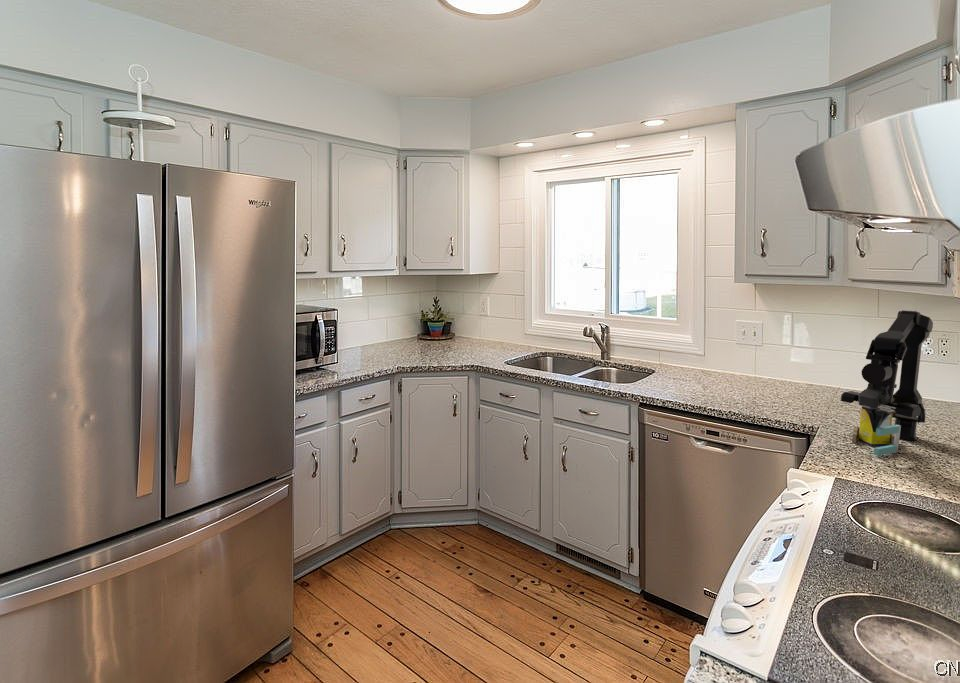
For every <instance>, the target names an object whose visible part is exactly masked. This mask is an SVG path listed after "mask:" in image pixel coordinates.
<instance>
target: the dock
mask: <svg viewBox="0 0 960 683" xmlns="http://www.w3.org/2000/svg"><path fill="white" fill-rule="evenodd" d="M859 429H860V427H857V426H854V427H853V431H852V438H851V443H852V444H856V443H857V439H859ZM894 437H895V433H894V434H890V443H889V444H890V445H894ZM856 445H857V444H856Z"/></svg>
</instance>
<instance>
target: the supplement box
mask: <svg viewBox="0 0 960 683" xmlns="http://www.w3.org/2000/svg"><path fill="white" fill-rule="evenodd" d="M892 415H893V413H892V414H890V415H889V416H888V417H887V418H886V419H885V420H884V421H883V423H882V424H881V425H880V427H886V426H892V422H893V417H892ZM880 427H879V428H880ZM859 428H860V429H859V438H857V439H858V440H857V441H858V442H860V443H862V444H865V445H867V446H869V447H882V446H888V445H890V443H889V442H890V434H888V435H883V436H879V435H876V432H873V429H872V425H871V421H870V418H869V415H868V413H867V412H866V410H865V409H862V408H861V412H860V422H859Z"/></svg>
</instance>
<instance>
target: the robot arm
mask: <svg viewBox="0 0 960 683" xmlns="http://www.w3.org/2000/svg"><path fill="white" fill-rule="evenodd" d="M933 327H934V322H933V320H932V319H931V317H929V316H926V315H924V314H921V312H919V311H916V310H903V309H902V310H899V311H898V312H897V317H896V318H895V320H894V321H893V323H892V324H891V325H890V327H889V328H888V329H887V331H884V332H880V333H878V334H877V335H876V336H875V337H874V338H873V339H872V340H871V342H870V345H869V347H868V351H867V353H866V357H865V360H870V363H867V364H866V365H864V366H863V368H862V369H861V377H862V379H863V380H864V381H865V382H867V383H868V384H867V387H866V388H865V389H863V390H862V391H861V392H859V391H853V390H849V391H844V392H842V393H841V394H840V401H841V402H843V403H849V404H852V403H855V402H858V405H859V406H861V410H862V409H865V410H866V412H867V413H868V415H869V418H870V421H871V425H872V429H873V432H876V429H877V428H879V427H880V425H881V424H882V423H883V421H884V420H885V419H886V418H887V417H888V416H889V415H890V414H892V413H893V415H892V419H893V418H894V424H893V425H901V429H900V438H899V440H908V441H913V442H917V441H918V438H917V437H918V436H917V435H916V432H917V424H918V423H926V409H925V407H924V406H925V405H924V404H923V396H922V395H921V394H920V392H919V390H918V380H919V371H920V364H921V353H922V345H923V344H924V343H925V341H926V340H927V339H928V338H930V333H931V332H932V330H933ZM899 363H901V367H900V368H901V369H900V376H899V378H900V379H899V384H898V385H899V387H898V389H897V386H898V385H897V384H896V381H897V374H898V369H899ZM895 389H897V390H896V391H895Z"/></svg>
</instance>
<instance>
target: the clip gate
mask: <svg viewBox="0 0 960 683" xmlns="http://www.w3.org/2000/svg"><path fill="white" fill-rule="evenodd" d="M900 429H901V425H894V424H893V425H892V424H891V426H886V427H880V428H877V429H876V435H879V436H883V435H888V434H894V433H895V437H894V445H891V444H889V445H888V446H876V447H873V455H874V456H877V457H879V456H884V455H889V454H895V453H898V452H899V443H900Z"/></svg>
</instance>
